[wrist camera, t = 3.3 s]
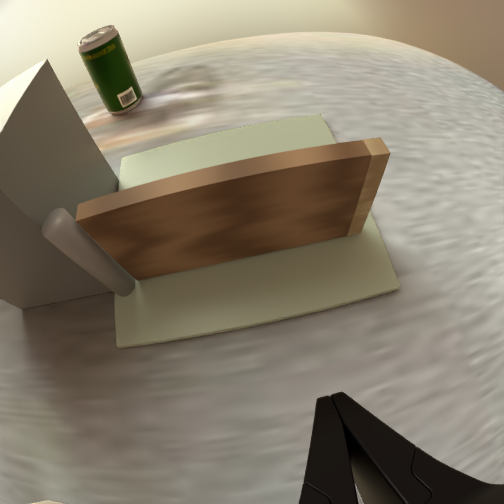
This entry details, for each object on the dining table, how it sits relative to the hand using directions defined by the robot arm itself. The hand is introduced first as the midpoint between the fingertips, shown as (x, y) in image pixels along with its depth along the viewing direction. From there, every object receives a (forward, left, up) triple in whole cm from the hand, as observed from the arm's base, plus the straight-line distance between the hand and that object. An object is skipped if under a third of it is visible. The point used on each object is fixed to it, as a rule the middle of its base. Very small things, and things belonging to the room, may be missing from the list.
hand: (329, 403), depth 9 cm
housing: (+12, -13, -12) cm, 22 cm away
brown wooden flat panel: (+5, -11, -11) cm, 16 cm away
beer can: (+24, -34, -12) cm, 43 cm away
